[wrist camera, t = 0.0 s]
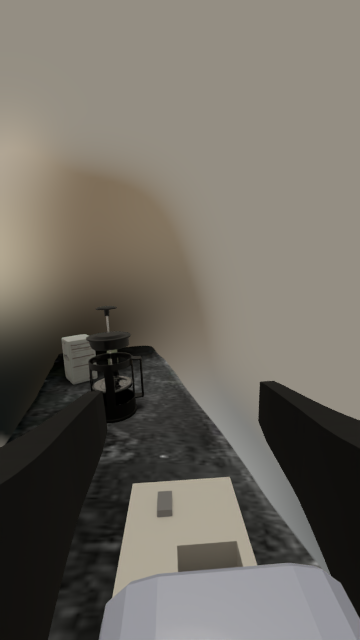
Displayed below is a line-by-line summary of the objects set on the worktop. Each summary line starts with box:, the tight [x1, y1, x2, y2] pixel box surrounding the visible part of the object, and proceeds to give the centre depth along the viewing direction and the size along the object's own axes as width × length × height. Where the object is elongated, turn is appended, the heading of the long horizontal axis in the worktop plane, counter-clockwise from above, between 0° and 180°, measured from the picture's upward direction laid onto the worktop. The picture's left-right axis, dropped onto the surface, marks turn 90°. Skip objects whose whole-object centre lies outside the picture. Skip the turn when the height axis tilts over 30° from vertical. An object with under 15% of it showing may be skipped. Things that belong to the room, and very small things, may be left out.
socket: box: [112, 477, 257, 598], centre depth 23 cm, size 16×12×4 cm
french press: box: [86, 306, 144, 423], centre depth 53 cm, size 12×9×23 cm
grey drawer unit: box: [62, 334, 98, 385], centre depth 74 cm, size 7×7×13 cm
